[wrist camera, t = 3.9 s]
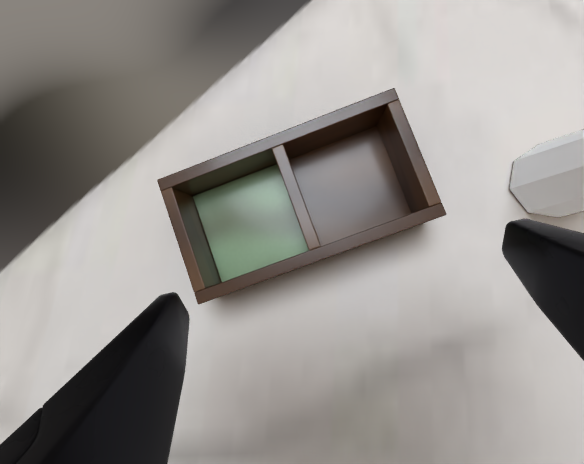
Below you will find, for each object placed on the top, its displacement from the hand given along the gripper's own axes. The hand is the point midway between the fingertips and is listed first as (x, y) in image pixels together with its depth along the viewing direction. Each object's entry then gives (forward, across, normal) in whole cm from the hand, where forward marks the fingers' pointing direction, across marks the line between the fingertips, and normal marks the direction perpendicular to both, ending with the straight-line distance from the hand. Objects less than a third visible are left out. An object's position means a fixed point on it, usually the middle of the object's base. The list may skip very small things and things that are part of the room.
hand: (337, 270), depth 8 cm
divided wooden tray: (+14, +1, +5) cm, 15 cm away
